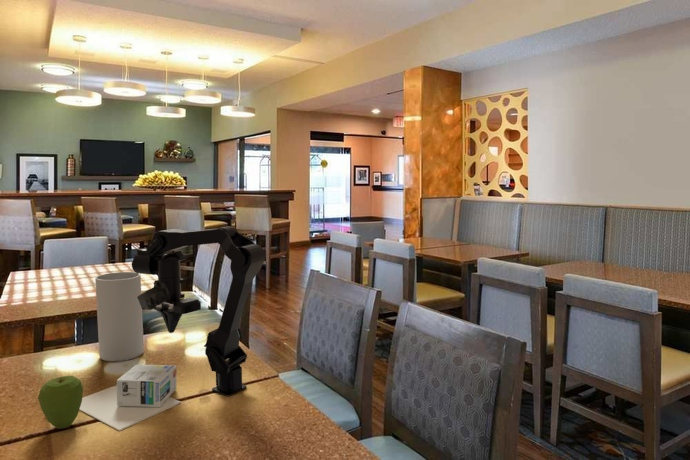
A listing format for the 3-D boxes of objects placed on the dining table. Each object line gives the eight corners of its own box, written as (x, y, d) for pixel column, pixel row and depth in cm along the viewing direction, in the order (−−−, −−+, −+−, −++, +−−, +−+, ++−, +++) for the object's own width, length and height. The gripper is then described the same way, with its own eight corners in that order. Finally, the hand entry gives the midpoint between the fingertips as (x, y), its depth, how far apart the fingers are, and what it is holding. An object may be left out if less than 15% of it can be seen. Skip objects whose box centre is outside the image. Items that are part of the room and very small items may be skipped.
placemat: (181, 403, 118) (181, 401, 118) (119, 431, 105) (119, 429, 105) (129, 381, 131) (129, 380, 131) (68, 404, 118) (68, 403, 118)
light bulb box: (116, 406, 115) (160, 408, 115) (115, 379, 115) (160, 381, 114) (136, 387, 126) (177, 389, 126) (136, 362, 125) (177, 364, 125)
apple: (76, 412, 113) (73, 365, 112) (92, 424, 108) (89, 375, 107) (34, 427, 107) (31, 377, 105) (49, 440, 101) (45, 388, 100)
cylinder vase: (151, 349, 155) (148, 272, 153) (129, 363, 143) (125, 281, 140) (115, 346, 157) (112, 271, 154) (90, 361, 145) (85, 279, 142)
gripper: (121, 277, 128) (124, 334, 130) (164, 286, 118) (166, 348, 120) (158, 270, 137) (160, 323, 139) (201, 278, 127) (203, 335, 129)
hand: (171, 332), depth 131 cm, fingers closed
